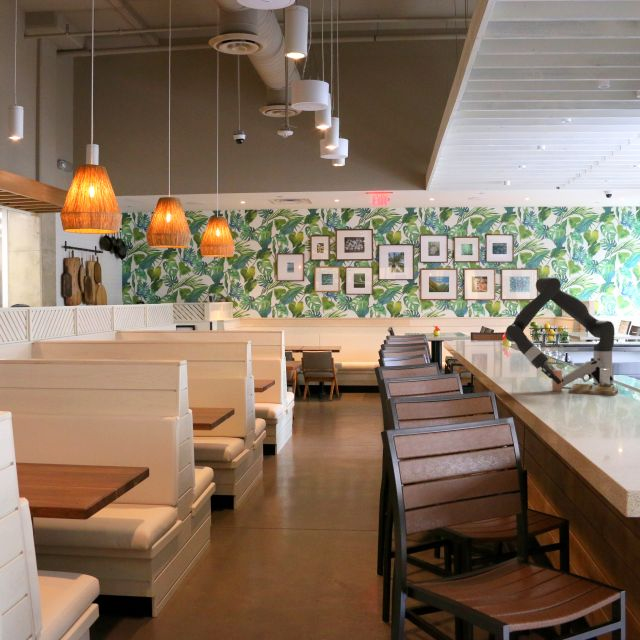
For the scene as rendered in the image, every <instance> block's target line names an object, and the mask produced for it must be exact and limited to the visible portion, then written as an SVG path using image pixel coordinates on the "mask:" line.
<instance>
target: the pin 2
mask: <svg viewBox="0 0 640 640" xmlns="http://www.w3.org/2000/svg"><path fill="white" fill-rule="evenodd" d="M610 385H611V384H610V369H600V387H610Z"/></svg>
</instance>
